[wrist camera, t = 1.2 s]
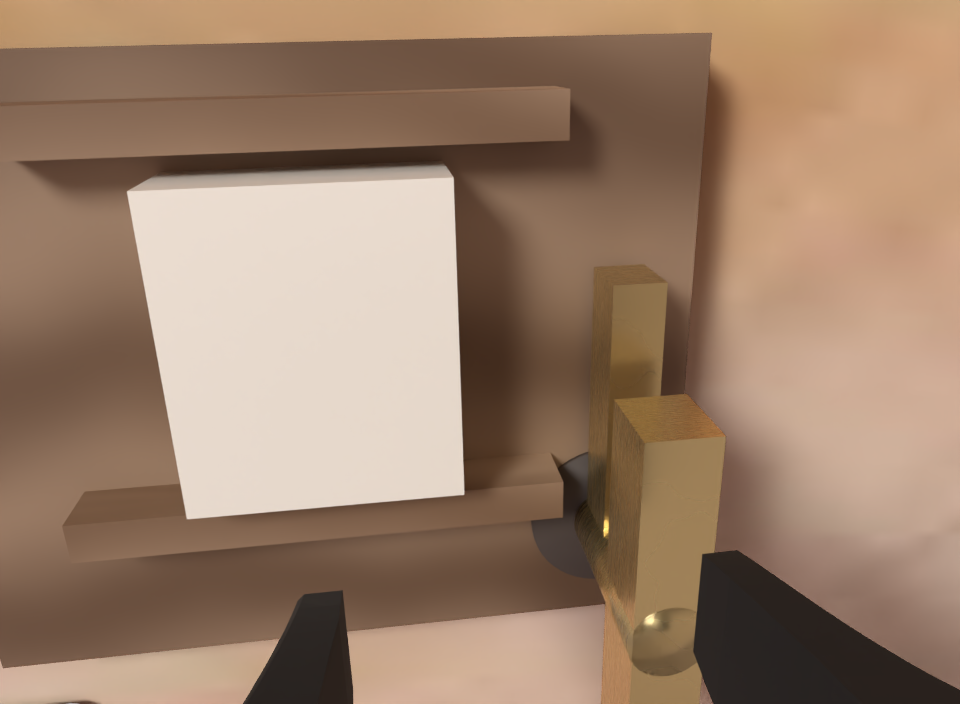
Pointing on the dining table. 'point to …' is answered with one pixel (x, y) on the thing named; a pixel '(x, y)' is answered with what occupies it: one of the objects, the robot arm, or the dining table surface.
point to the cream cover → (305, 333)
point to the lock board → (481, 314)
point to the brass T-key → (645, 496)
